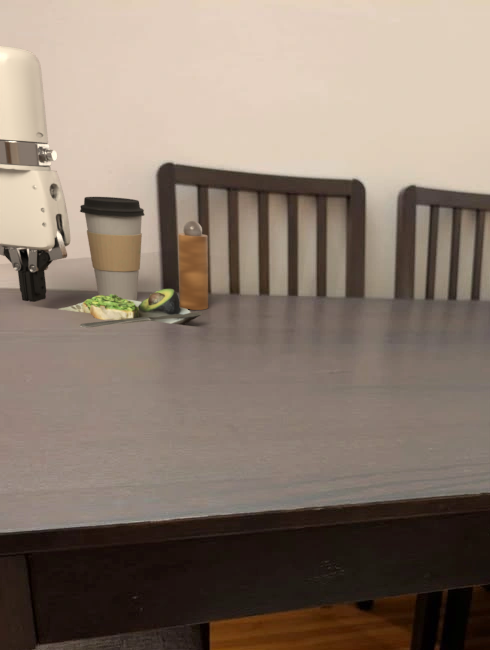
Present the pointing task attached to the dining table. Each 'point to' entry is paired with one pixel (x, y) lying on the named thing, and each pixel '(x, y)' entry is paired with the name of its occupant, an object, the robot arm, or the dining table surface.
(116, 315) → the avocado toast
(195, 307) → the pepper grinder
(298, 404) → the dining table surface
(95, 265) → the coffee cup
